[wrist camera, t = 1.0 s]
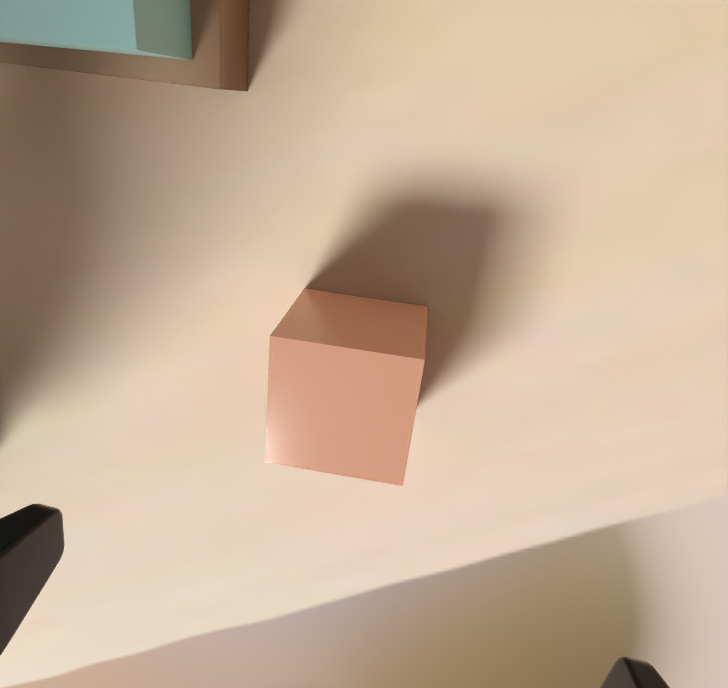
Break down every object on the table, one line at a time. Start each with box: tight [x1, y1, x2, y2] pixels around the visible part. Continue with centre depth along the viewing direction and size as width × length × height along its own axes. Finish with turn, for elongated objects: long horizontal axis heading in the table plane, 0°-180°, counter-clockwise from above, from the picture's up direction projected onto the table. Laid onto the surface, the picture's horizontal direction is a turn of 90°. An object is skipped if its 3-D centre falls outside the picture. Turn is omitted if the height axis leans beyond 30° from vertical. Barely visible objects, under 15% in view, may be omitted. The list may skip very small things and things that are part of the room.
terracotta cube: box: [265, 288, 428, 486], centre depth 18 cm, size 4×4×4 cm
